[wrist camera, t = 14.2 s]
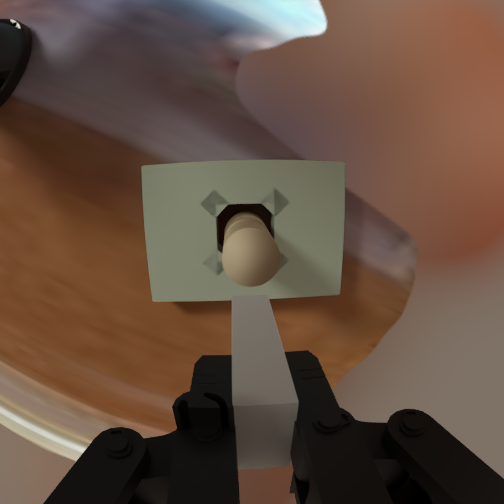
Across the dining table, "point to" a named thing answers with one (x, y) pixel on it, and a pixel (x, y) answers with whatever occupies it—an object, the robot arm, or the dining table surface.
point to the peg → (249, 250)
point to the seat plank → (243, 192)
